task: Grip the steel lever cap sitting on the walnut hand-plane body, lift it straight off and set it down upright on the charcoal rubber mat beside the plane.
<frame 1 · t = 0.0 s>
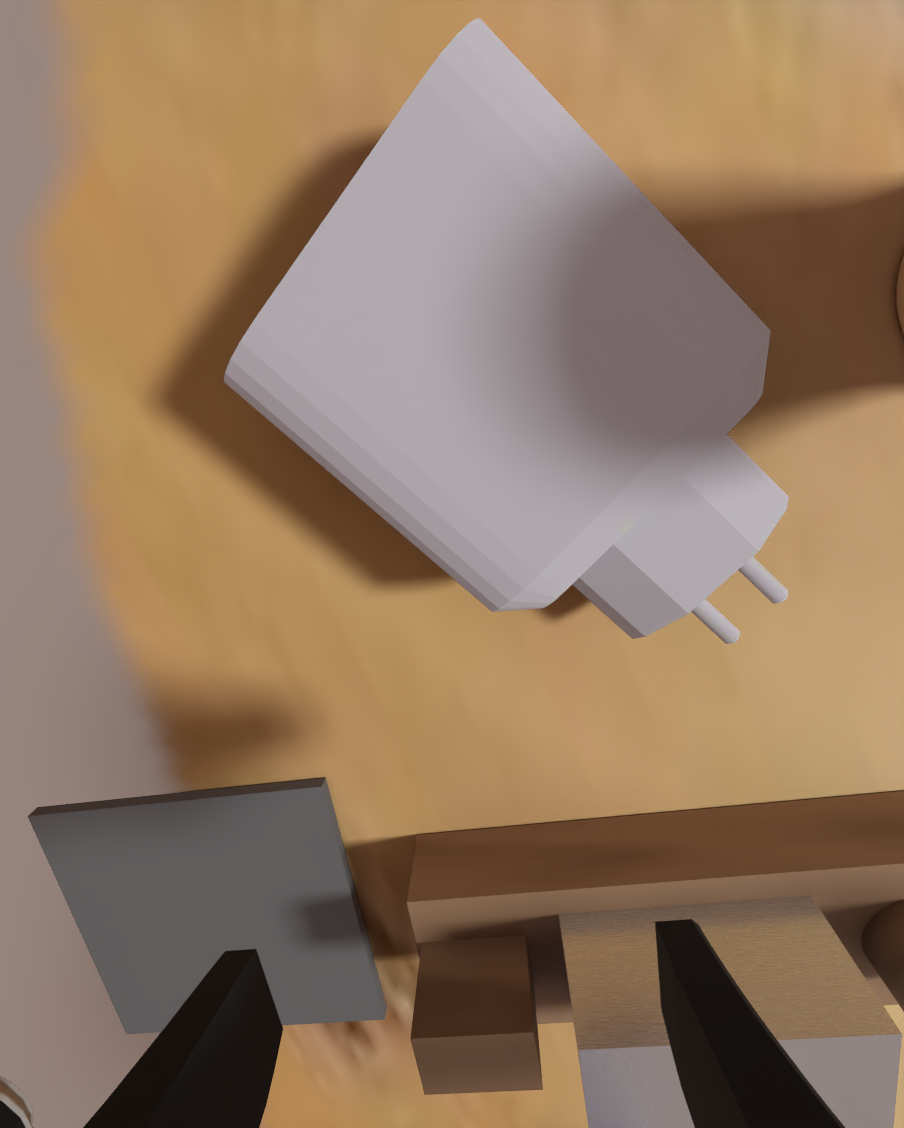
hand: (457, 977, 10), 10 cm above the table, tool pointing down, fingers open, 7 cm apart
plane body: (657, 877, 21), on the table
mat: (220, 911, 23), on the table
charger: (558, 435, 17), on the table
lever cap: (684, 951, 18), point 3 cm above the table, touching plane body
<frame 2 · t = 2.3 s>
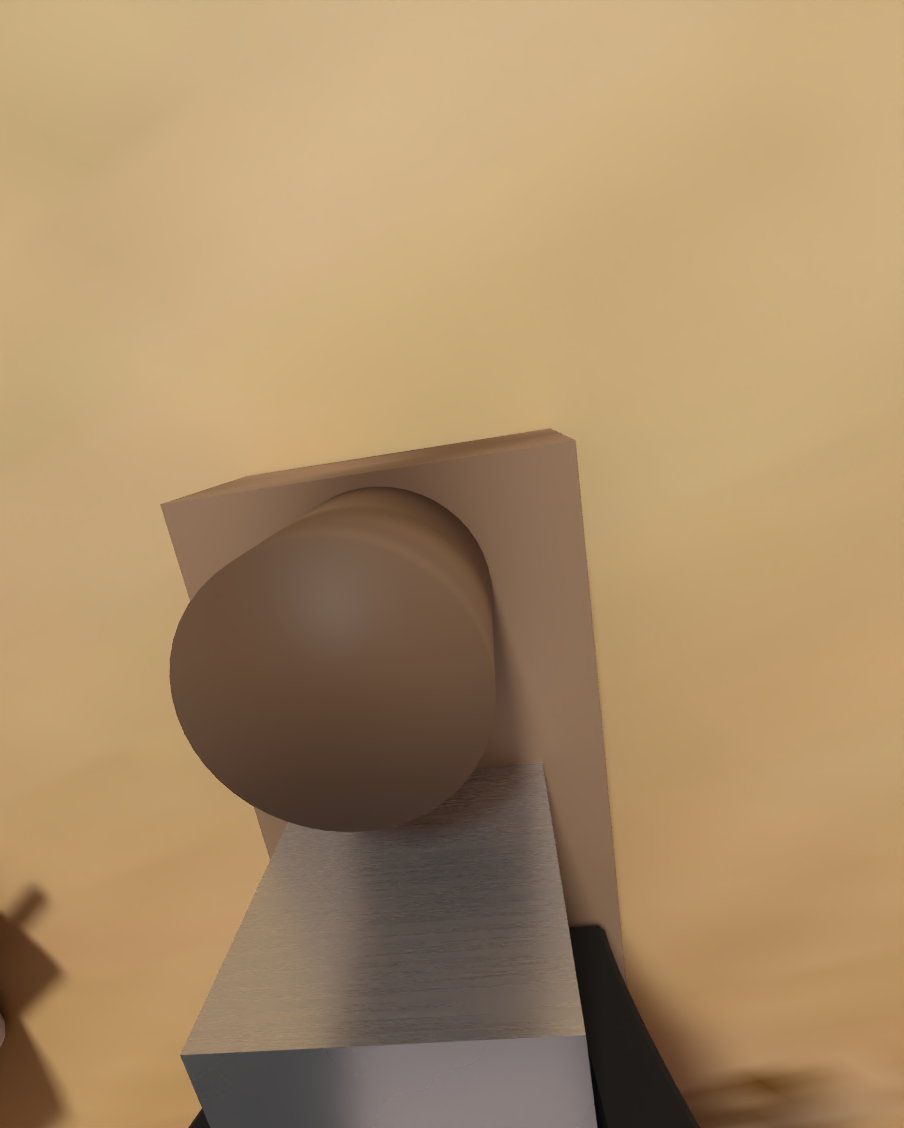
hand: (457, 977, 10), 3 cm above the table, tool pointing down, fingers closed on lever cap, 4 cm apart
plane body: (463, 833, 13), on the table
lever cap: (458, 955, 10), point 3 cm above the table, touching gripper, plane body
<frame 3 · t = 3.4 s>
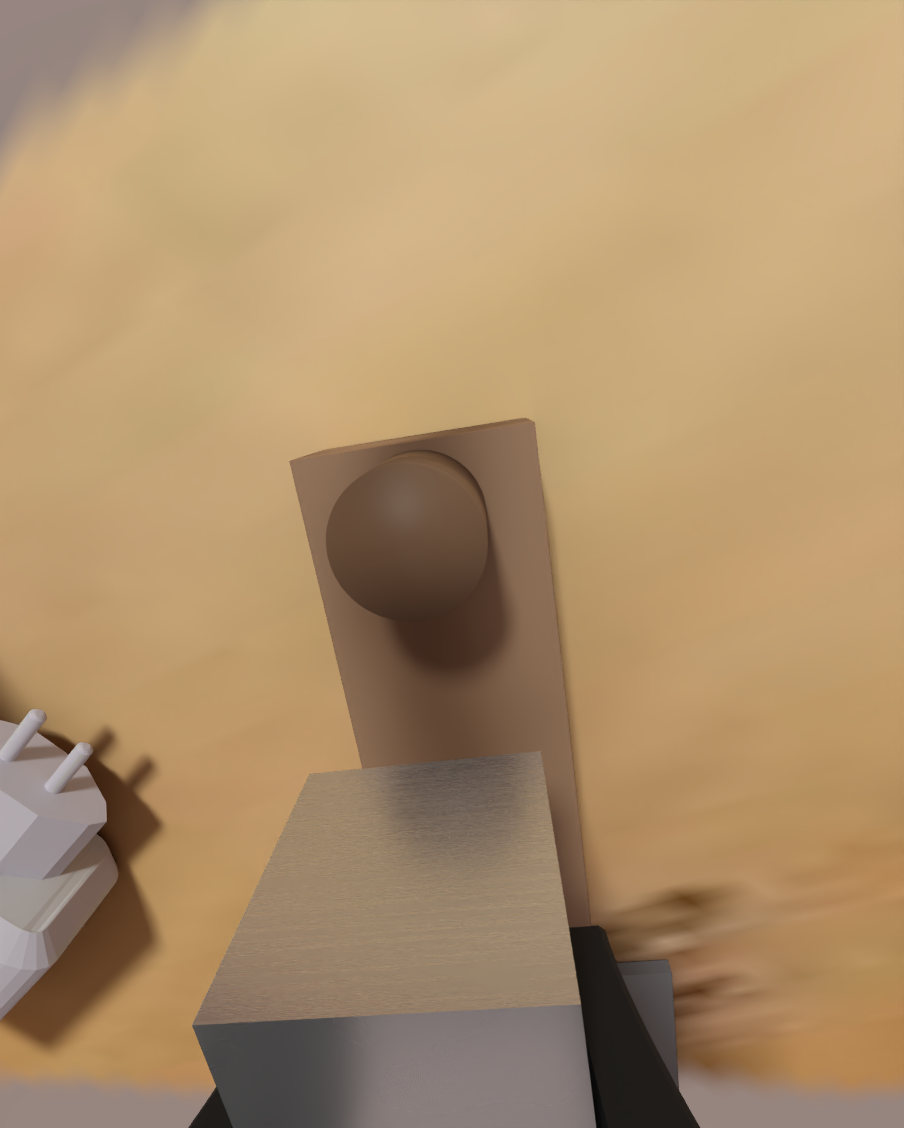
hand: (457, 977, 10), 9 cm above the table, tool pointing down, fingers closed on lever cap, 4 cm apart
plane body: (468, 704, 19), on the table
mat: (530, 1074, 24), on the table
charger: (18, 811, 22), on the table
lever cap: (458, 941, 10), point 8 cm above the table, touching gripper
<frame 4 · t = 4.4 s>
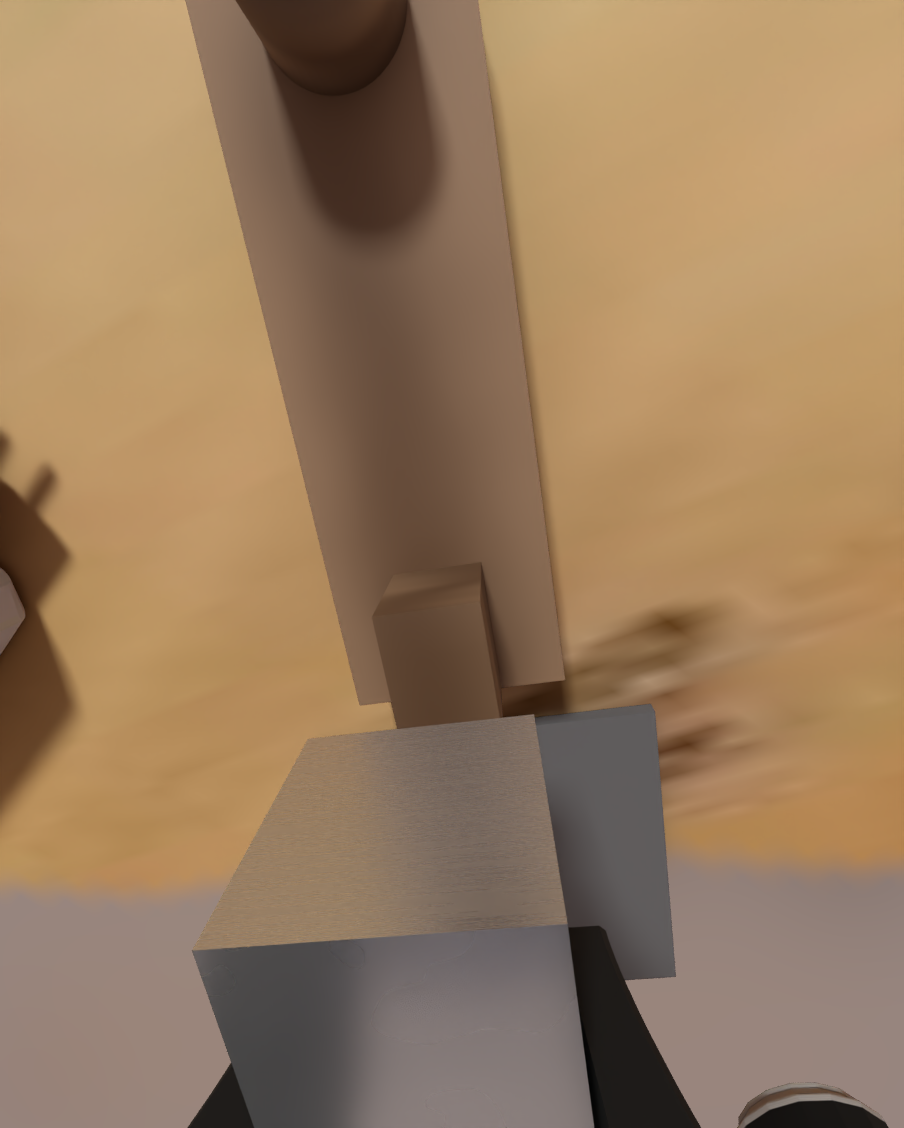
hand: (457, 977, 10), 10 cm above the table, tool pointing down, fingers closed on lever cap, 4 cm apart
plane body: (414, 371, 16), on the table
mat: (502, 859, 21), on the table
beverage can: (797, 1117, 25), on the table
lever cap: (454, 910, 11), point 9 cm above the table, touching gripper
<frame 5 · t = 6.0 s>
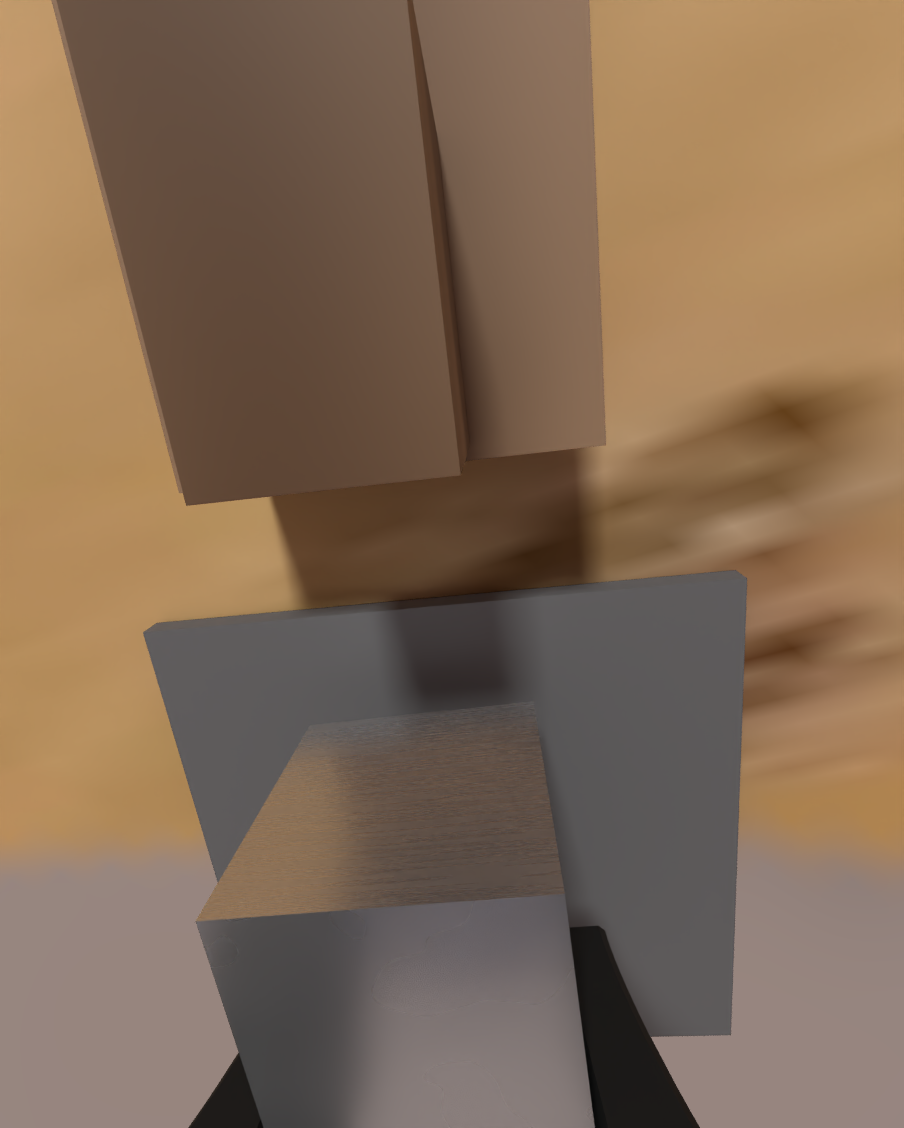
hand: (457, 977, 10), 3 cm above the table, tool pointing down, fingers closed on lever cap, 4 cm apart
mat: (464, 835, 13), on the table
lever cap: (454, 898, 11), point 2 cm above the table, touching gripper
when the fingers open (2 cm above the table, at t = 7.0 s): lever cap stays where it is, resting on mat.
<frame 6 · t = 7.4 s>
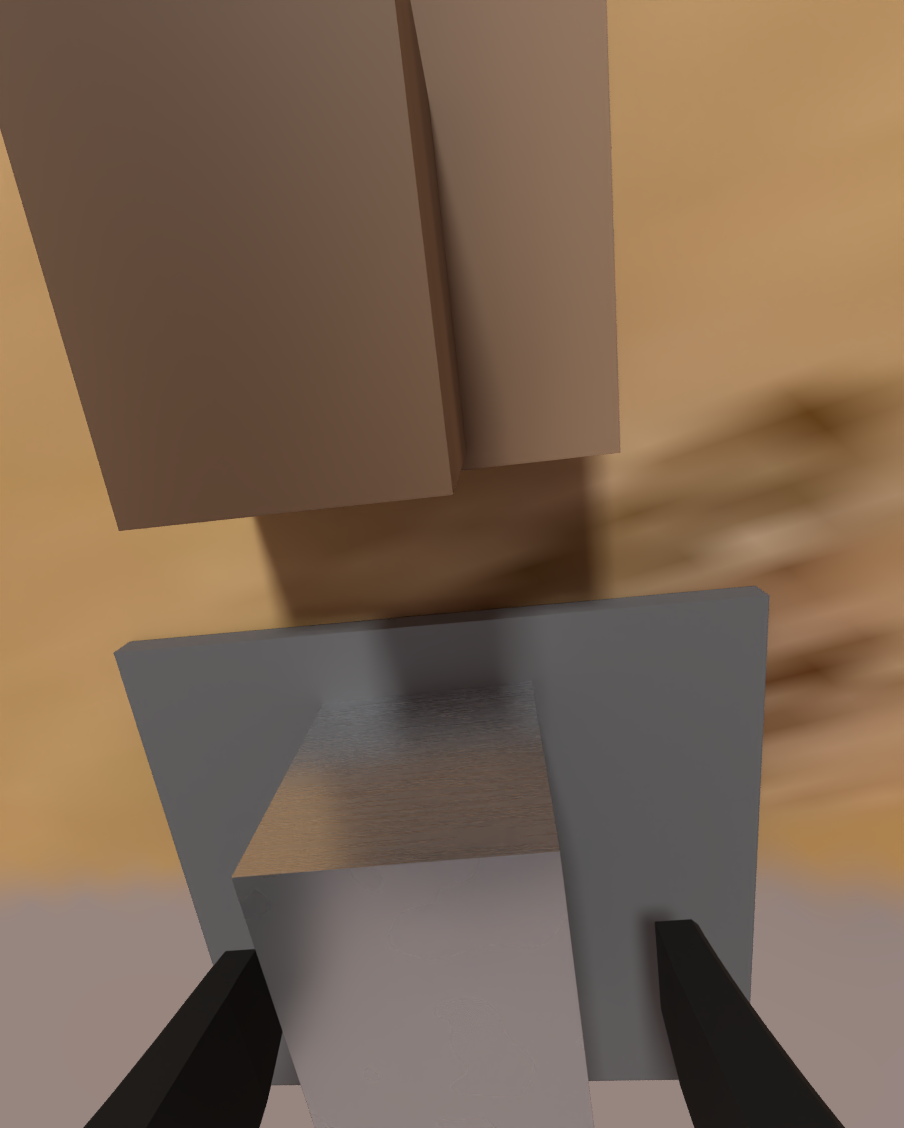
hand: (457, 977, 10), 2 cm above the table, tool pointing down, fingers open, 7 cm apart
mat: (462, 867, 12), on the table
lever cap: (457, 862, 11), resting on mat
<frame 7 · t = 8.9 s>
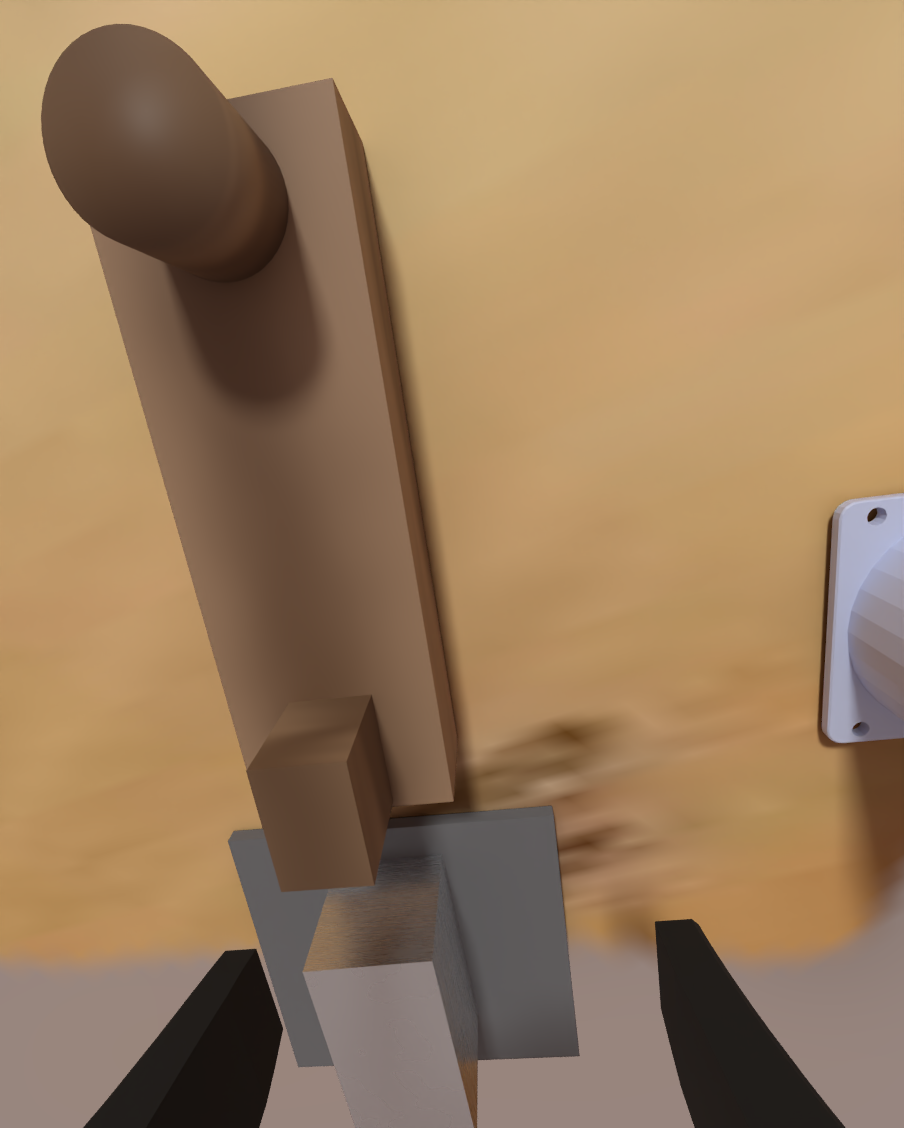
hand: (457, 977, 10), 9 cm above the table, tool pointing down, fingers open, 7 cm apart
plane body: (321, 499, 17), on the table
mat: (414, 942, 22), on the table
lever cap: (409, 941, 21), resting on mat
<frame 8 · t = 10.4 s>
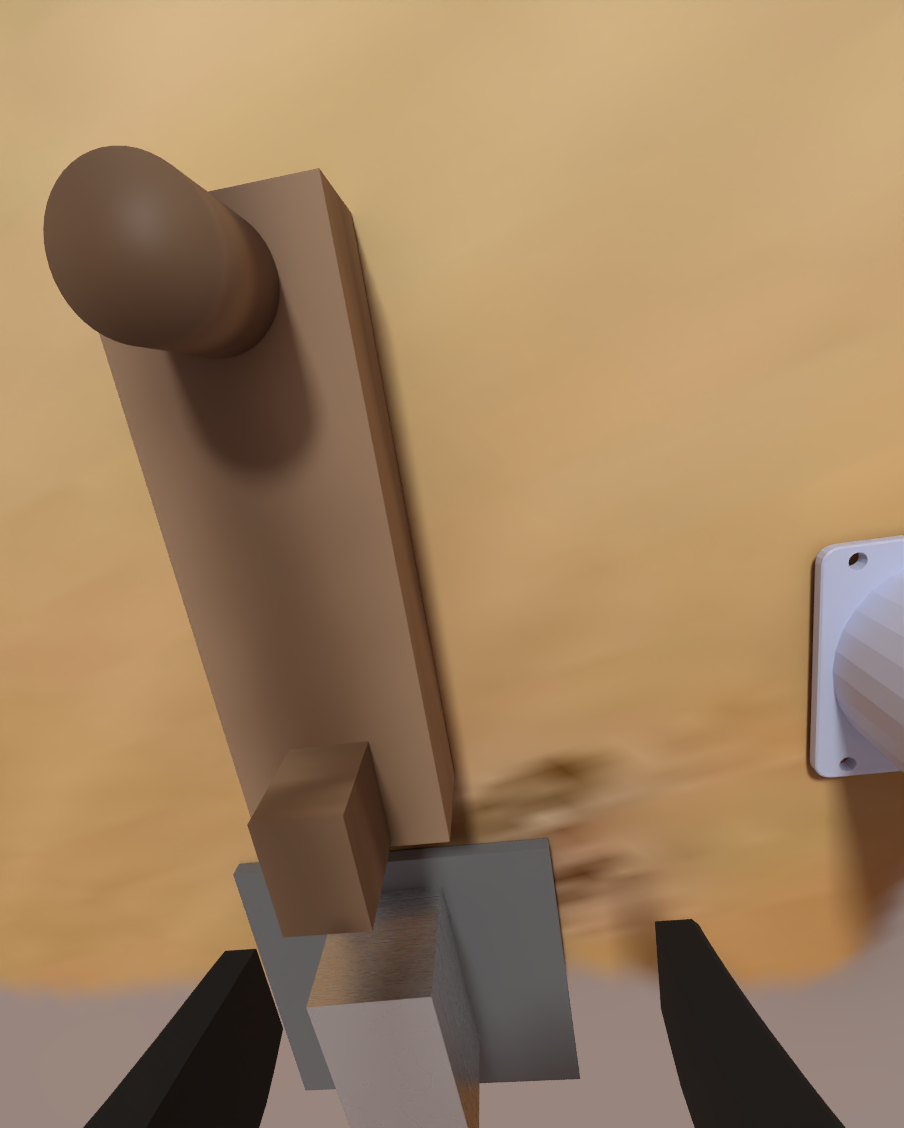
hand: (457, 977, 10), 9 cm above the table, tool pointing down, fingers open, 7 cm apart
plane body: (318, 548, 18), on the table
mat: (416, 969, 23), on the table
lever cap: (411, 969, 22), resting on mat
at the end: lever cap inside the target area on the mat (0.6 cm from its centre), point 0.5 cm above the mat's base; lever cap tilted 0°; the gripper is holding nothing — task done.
